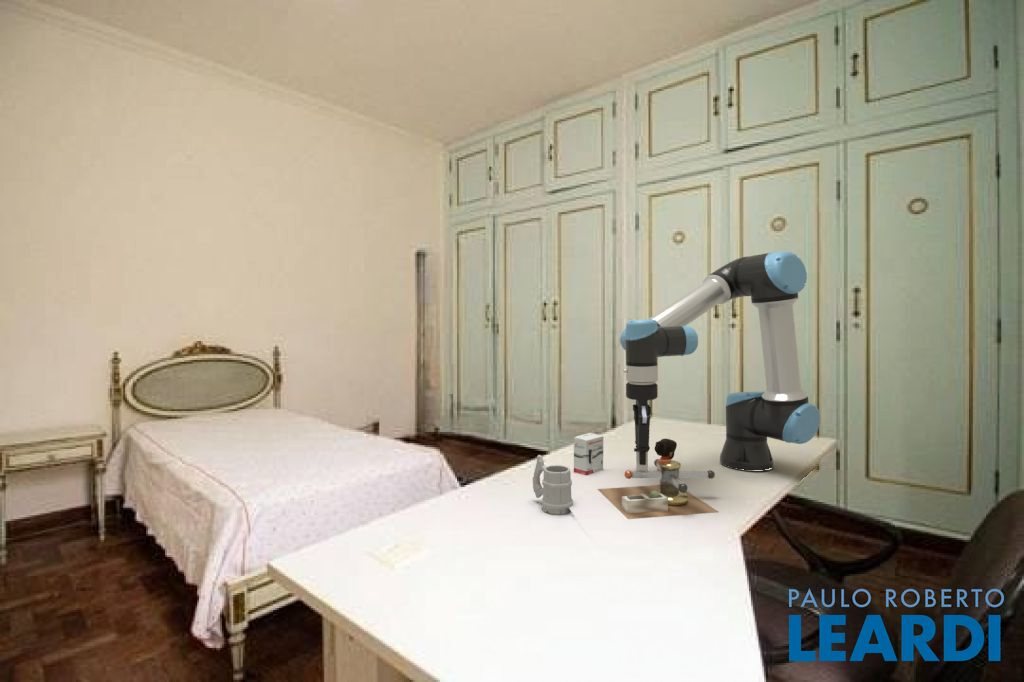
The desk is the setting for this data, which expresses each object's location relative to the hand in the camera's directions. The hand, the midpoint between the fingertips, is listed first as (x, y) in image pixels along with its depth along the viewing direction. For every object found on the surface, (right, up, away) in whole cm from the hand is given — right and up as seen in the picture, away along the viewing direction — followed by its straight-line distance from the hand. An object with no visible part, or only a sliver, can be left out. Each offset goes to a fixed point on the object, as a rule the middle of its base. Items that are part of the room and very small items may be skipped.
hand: (642, 476), depth 121 cm
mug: (-23, -7, -2) cm, 24 cm away
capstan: (+6, -5, -1) cm, 8 cm away
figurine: (+11, -6, +17) cm, 21 cm away
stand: (+2, -7, -2) cm, 7 cm away
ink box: (-10, -6, +22) cm, 25 cm away
